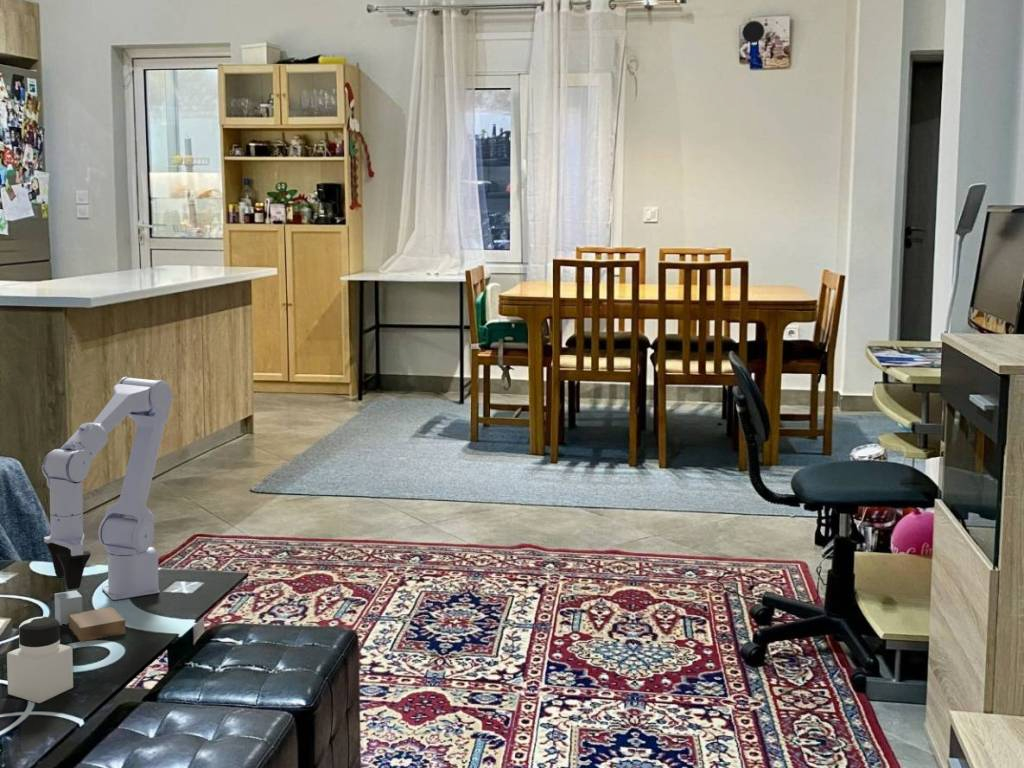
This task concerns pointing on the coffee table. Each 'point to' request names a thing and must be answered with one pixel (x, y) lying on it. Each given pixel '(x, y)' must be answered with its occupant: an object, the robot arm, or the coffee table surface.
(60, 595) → the cube
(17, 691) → the medicine bottle
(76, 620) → the base slab
